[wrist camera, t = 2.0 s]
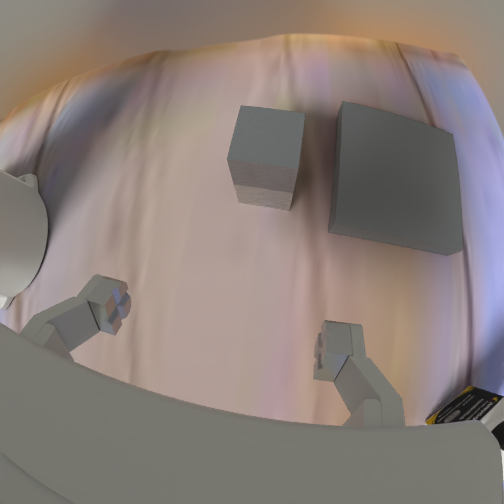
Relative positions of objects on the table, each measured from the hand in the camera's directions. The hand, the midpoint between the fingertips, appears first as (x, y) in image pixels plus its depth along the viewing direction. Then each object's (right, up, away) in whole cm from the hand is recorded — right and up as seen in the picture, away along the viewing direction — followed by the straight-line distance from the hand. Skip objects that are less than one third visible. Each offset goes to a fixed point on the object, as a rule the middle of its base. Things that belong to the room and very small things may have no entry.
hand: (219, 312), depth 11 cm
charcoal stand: (+17, +10, +17) cm, 26 cm away
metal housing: (+3, +9, +18) cm, 20 cm away
